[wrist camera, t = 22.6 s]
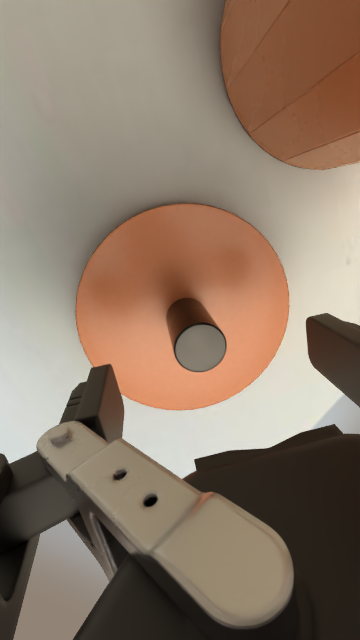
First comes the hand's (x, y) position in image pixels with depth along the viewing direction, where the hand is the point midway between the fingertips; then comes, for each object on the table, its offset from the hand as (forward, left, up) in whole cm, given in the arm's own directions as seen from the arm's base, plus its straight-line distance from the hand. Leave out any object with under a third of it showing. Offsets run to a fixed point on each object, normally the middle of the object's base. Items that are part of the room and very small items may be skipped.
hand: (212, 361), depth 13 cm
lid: (0, 0, -7) cm, 7 cm away
